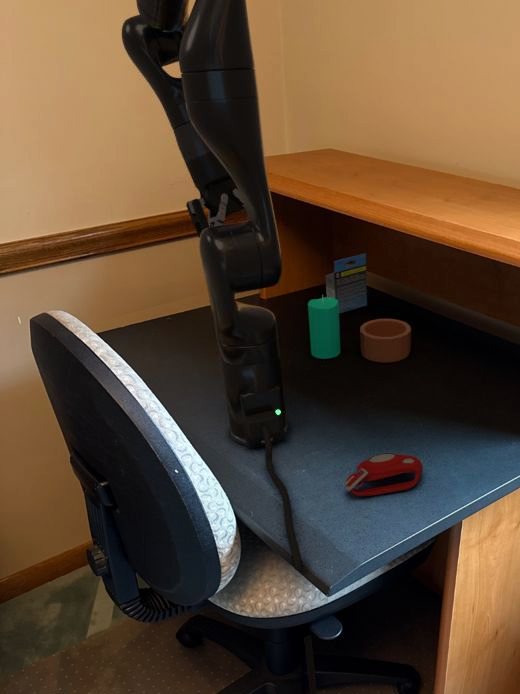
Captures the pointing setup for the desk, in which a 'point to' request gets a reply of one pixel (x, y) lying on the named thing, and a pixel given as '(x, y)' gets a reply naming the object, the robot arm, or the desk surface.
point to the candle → (324, 327)
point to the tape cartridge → (348, 283)
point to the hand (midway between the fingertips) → (245, 249)
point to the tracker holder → (384, 473)
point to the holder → (385, 340)
